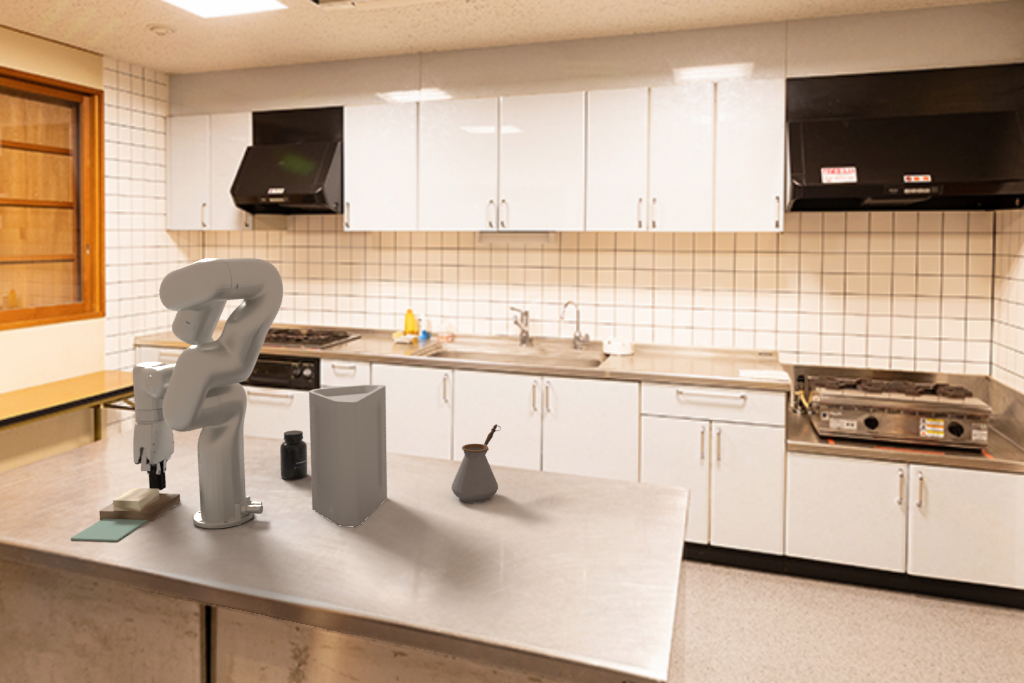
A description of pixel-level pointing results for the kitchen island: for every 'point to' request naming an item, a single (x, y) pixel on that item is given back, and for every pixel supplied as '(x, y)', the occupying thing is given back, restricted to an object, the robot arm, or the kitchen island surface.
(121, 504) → the birch tile
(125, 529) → the rubber mat
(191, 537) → the kitchen island surface
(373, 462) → the grey triangular vase
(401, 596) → the kitchen island surface
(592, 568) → the kitchen island surface
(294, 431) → the supplement bottle
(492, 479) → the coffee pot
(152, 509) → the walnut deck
